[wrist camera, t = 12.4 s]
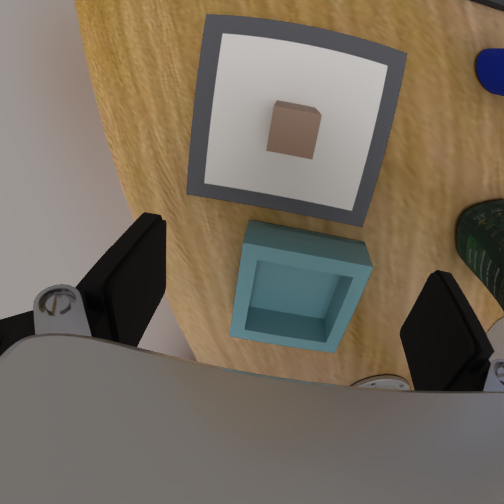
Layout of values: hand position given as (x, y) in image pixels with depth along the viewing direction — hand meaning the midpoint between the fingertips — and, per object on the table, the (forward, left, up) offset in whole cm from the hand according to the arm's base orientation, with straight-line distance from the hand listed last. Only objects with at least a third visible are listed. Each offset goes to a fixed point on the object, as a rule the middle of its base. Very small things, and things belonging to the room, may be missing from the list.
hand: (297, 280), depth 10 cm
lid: (+1, -2, -22) cm, 22 cm away
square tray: (-3, +16, -22) cm, 28 cm away
